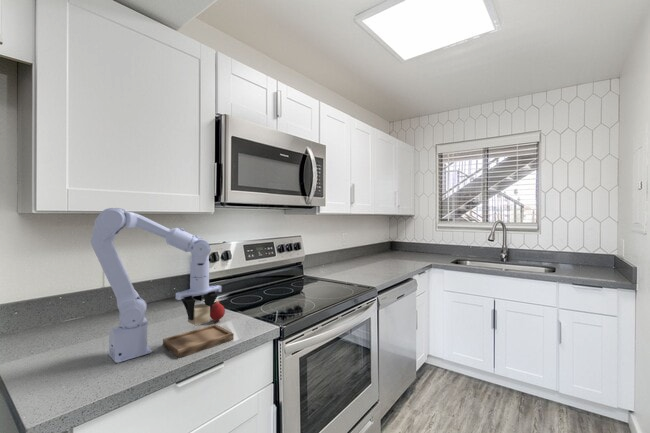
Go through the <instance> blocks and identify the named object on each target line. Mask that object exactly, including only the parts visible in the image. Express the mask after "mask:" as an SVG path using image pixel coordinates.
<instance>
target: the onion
mask: <svg viewBox="0 0 650 433" xmlns="http://www.w3.org/2000/svg"><path fill="white" fill-rule="evenodd" d="M215 301H216V302H214V303H213V306H212V309H211V313H210V319H211V320H214V321H215V322H218V321H220V320H221V319H222V318H223V317H224V315H225V313H226V309H225V307H224V305H223V304H221V303H220V301H219V300H215Z"/></svg>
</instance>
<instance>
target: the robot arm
mask: <svg viewBox="0 0 650 433" xmlns="http://www.w3.org/2000/svg"><path fill="white" fill-rule="evenodd" d="M124 228H126V229H137V228H138V229H140V230H144V231H146V232H149V233H150V234H151V233H152V234H153V235H156V236H159V237H161V238H163V239H165V241H166V244H167V245H169V246H172V247H173V248H176V249H179V250H180V251H183V252H185V253H188V252H189V253H190V254H191V258H190V259H191V261H190V270H189V276H190V277H189V289H186V290H183V291H178V292H175V300H177V301H181V302H182V304H183V306H184V308H185V310H186V314H187V320H188V319H189V320H193V318H194V305H196V299H194V298H193V297H199V296H203V300H204V304H205V305H208V306H210V313H211V309H212V306H213V304H215V301H217V298H218V293H222V285H219V284H217V285H210V261H209V259H210V253H211V250H212V249H211V246H210V244H209V242H208V241H206V240H205V239H203V238H202V237H200V236H199V235H197V234H196V235H194V234H192V233H190V232H187V231H185V228H184V227H174V228H171V229H170V228H168V227H166V226H164V225H162V224H160V223H158V222H156V221H154V220H153V219H150V218H148V217H145V216H144V215H142V214H139V213H136V212H132V211H128V210H127V211H126V210H125V209H124V208H120V207H109V208H106V209H104V210H102V211H101V212H100V213H99V214H98V216H97V217H96V218H95V220H94V226H93V230H92V235H91V236H90V237H91V238H90V245H91V247H92V249H93V251H94V253H95V256H96V257H97V259H98V262H99V264H100V266H101V268H102V270H103V273H104V275H105V277H106V279H107V281H108V283H109V285H110V287H111V290H112V291H113V292H112V293H114V296H115V298H116V305H117V309H118V311H119V316H118V319H119V320H118V321H119V325H118V326H116V327H114V328H111V329H110V330H109V334H108V336H109V337H108V338H109V340H108V341H109V342H108V344H109V345H108V346H109V348H108V349H109V351H108V356H109V357H110V358H111V359H112V360H113V361H114V363H116V364H119V363H122V362H125V361H129V360H132V359H134V358H135V359H136V358H139V357H142V356H144V355H145V356H146V355H149V354H151V353H153V350H152V349H151V348H150V347H149V346H148V319H147V318H146V317H145V316H146V315H145V314H146V312H147V308H148V304H147V302H146V301H145V300H144V299H143V298H141V296H140V295H139V293H138V291H136V290H135V287H134V285H133V283H132V282H131V279H130V277H129V274H128V272H127V270H126V267H125V266H124V263H123V260H122V259H121V257H120V255H119V252H118V251H117V248H116V246H115V244H114V241H115V239H116V238H117V236H118V234H119V232H121V230H123V229H124Z"/></svg>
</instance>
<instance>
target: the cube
mask: <svg viewBox="0 0 650 433" xmlns="http://www.w3.org/2000/svg"><path fill="white" fill-rule="evenodd" d="M187 322H188V323H189V324H191V325H192V326H198V325H202V324H203V325H204V324H206V323H210V322H211V317H210V306H208V305H205V303H198V304H194V318H193V320H189V319H188V318H187Z"/></svg>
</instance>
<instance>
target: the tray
mask: <svg viewBox="0 0 650 433" xmlns="http://www.w3.org/2000/svg"><path fill="white" fill-rule="evenodd" d="M231 340H232V341H234V332H231V331H229V330H228V329H225V328H223V327H222V326H220V325H218V324H212V325H208V326H205V327H200V328H196V329H194V330H190V331H187V332H186V331H185V332H183V333H179V334H175V335H172V336H169V337H165V338H163V339H162V346H163V347H164V348H165V349H166V350H168V351H169V352H170V353H172V354H173V355H174V356H176V357H177V358H178V359H180V358H184V357H187V356H191V355H193V354H195V353H198V352H199V353H200V352H202V351H205V350H208V349H210V348H213V347H216V346H219V345H223V344H225V343H226V344H227V343H228V342H232V341H231Z"/></svg>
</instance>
